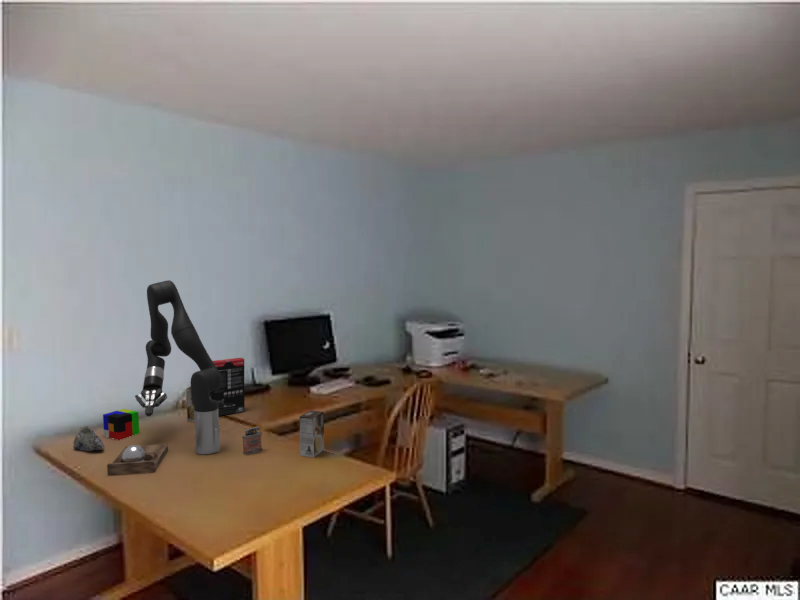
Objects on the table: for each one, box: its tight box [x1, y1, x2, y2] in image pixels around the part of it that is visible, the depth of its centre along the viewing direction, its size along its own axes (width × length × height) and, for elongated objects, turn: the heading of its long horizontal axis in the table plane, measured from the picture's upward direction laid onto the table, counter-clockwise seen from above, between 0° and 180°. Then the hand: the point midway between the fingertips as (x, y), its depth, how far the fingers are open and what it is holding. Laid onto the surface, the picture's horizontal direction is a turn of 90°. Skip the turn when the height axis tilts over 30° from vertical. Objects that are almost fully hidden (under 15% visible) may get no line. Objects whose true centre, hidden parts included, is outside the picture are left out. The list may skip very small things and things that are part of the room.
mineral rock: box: [72, 425, 105, 452], centre depth 236 cm, size 13×11×10 cm
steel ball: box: [122, 444, 145, 463], centre depth 219 cm, size 8×8×8 cm
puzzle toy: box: [102, 408, 140, 441], centre depth 256 cm, size 10×10×10 cm
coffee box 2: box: [299, 410, 325, 458], centre depth 233 cm, size 9×6×16 cm
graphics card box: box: [210, 357, 246, 417], centre depth 288 cm, size 17×7×27 cm, turn 130°
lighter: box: [241, 426, 263, 455], centre depth 234 cm, size 8×3×10 cm, turn 129°
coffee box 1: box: [185, 386, 210, 423], centre depth 277 cm, size 9×6×16 cm
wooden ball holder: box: [106, 443, 169, 476], centre depth 224 cm, size 16×24×4 cm, turn 11°
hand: (148, 415), depth 238 cm, fingers closed
